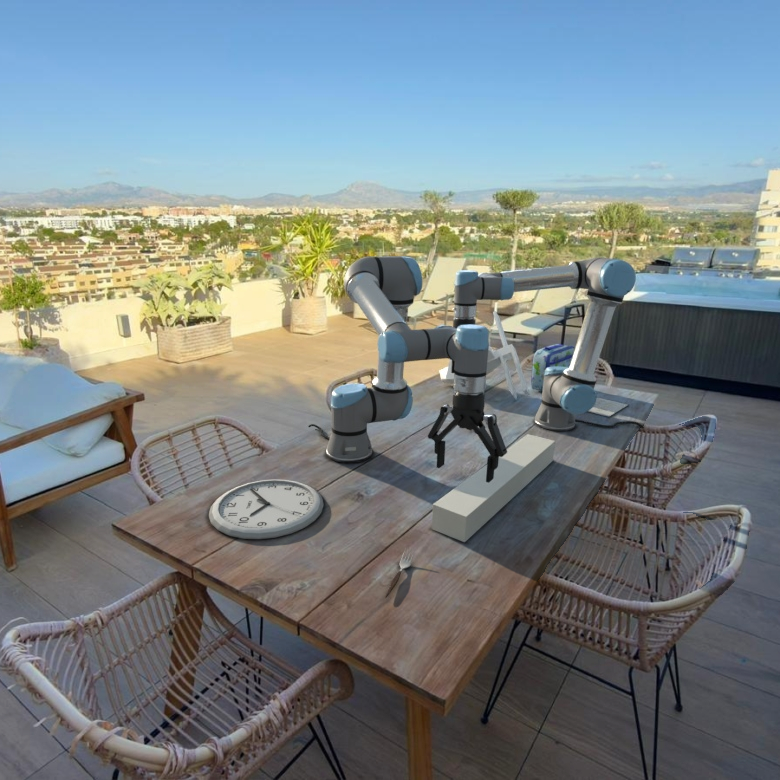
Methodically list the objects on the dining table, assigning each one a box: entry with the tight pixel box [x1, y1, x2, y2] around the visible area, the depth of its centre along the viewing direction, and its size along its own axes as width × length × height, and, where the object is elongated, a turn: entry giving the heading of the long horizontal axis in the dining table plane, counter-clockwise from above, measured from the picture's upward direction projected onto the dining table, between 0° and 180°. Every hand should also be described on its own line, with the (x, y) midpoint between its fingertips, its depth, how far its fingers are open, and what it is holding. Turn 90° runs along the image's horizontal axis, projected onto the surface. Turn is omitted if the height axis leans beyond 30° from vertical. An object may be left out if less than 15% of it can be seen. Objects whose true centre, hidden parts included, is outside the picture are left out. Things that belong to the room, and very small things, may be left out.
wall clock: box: [208, 478, 324, 540], centre depth 141 cm, size 30×2×30 cm
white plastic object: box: [438, 310, 531, 400], centre depth 245 cm, size 37×45×31 cm
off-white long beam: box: [431, 433, 556, 543], centre depth 152 cm, size 60×10×7 cm, turn 143°
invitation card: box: [587, 397, 629, 418], centre depth 226 cm, size 21×1×15 cm
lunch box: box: [530, 343, 575, 392], centre depth 248 cm, size 26×11×21 cm, turn 134°
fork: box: [385, 547, 415, 599], centre depth 114 cm, size 3×16×2 cm, turn 160°
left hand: (464, 473), depth 130 cm, fingers open, 13 cm apart
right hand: (461, 378), depth 183 cm, fingers open, 13 cm apart
